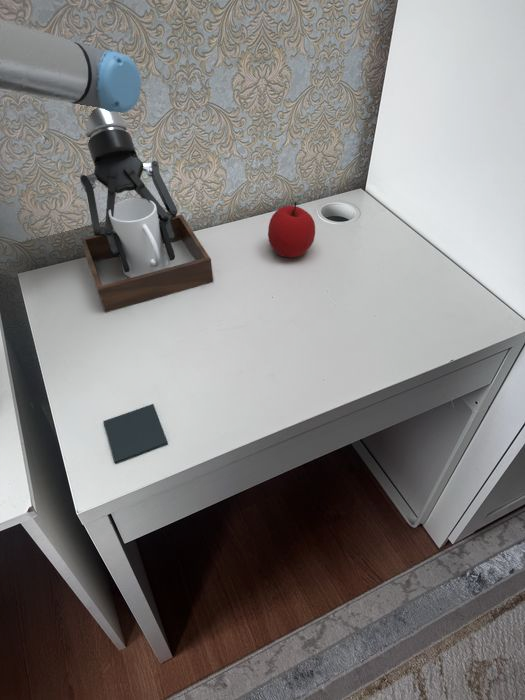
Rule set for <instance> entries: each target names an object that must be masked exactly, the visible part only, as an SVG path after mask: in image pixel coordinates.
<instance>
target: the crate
mask: <svg viewBox="0 0 525 700" xmlns="http://www.w3.org/2000/svg"><path fill="white" fill-rule="evenodd" d="M159 222H161V221H160V220H159ZM170 223H171V226H172V229H173V232H174V239H173V240H170V241H171V243H174V242H177V241H183V242H184V244H185V246H186V247H187V249H188V250H189V252H190V254H191V256H192V257H193V258H194V260H192V261H188V262H185V263H181V264H177V265H173V266H170V267H169V266H168V267H167V268H166V269H162V270H158V271H155V272H151V273H147V274H143V275H140V276H136V277H132V278H129V277H128V278H126V279H122V280H118V281H114V282H110V283H106V284H102V281H101V279H100V277H99V274H98V271H97V268H96V266H95V262H98V261H102V260H106V259H107V260H108V259H110V258H115V257H118V256H119V253H118V254H114V255H113V254H112V252H111V250H110V247H109V244H108V241H107V238H106V237H105V236H95V235H94V234H93V235H89V236H87V237H86V236H85V237H82V238H80V239H79V240H80V243H81V245H82V248H83V251H84V255H85V258H86V261H87V263H88V264H87V265H88V266H89V269H90V272H91V276H92V278H93V281H94V285H95V286H96V290H97V292H98V295H99V298H100V301H101V304H102V307H103V310H104V312H105V313H108V312H111V311H116V310H119V309H122V308H127V307H129V306H133V305H136V304H140V303H144V302H147V301H150V300H154V299H157V298H161V297H164V296H168V295H171V294H175V293H179V292H183V291H186V290H189V289H193V288H197V287H200V286H203V285H208V284H211V283H213V282H214V275H213V266H212V258H211V257H210V255H209V254H208V252H207V251H206V249H205V248H204V246H203V245H202V243H201V242H200V240H199V239H198V237H197V236H196V234H195V232H194V231H193V230H192V228H191V227H190V225H189V223H188V222H187V221H186V219H185V218H184V216H183V214H178V215H176V217H175V218H173V219H171V220H170ZM113 233H114V232H113ZM162 240H163V238H162ZM163 245H164V241H163Z"/></svg>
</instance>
